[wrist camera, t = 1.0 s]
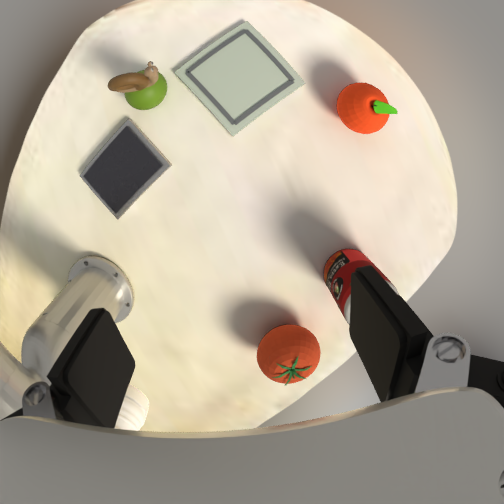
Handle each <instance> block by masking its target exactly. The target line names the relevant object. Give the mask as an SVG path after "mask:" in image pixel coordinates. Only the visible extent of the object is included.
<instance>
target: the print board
mask: <svg viewBox="0 0 504 504" xmlns="http://www.w3.org/2000/svg"><path fill="white" fill-rule="evenodd" d="M174 73H175V74H176V75H177V76H178V77H179V78H180V79H181V80H182V81H183V82H184V83H185V84H186V85H187V86H188V87H189V88H190V89H191V91H192V92H193V93H194V94H195V95H196V96H197V97H198V98H199V99H200V100H201V101H202V102H203V103H204V105H205V106H206V107H207V108H208V109H209V110H210V111H211V112H212V113H213V114H214V116H215V117H216V118H217V119H218V120H219V121H220V122H221V123H222V125H223V126H224V127H225V128H226V129H227V130H228V131H229V132H230V134H231V135H232V136H235V135H236V134H237V133H238V132H240V131H241V130H242V129H243V128H245V127H246V126H247V125H249V124H250V123H251V122H252V121H254V120H255V119H256V118H258V117H259V116H260V115H262V114H263V113H264V112H266V111H267V110H268V109H270V108H271V107H273V106H274V105H275V104H277V103H278V102H280V101H281V100H282V99H284V98H285V97H287V96H288V95H289V94H291V93H292V92H294V91H295V90H297V89H298V88H300V87H301V86H303V85H304V84H305V82H304V81H303V80H302V78H301V77H300V76H299V75H298V74H297V72H296V71H295V70H294V69H293V68H292V67H291V66H290V64H289V63H288V62H287V61H286V60H285V59H284V58H283V57H282V56H281V55H280V53H279V52H278V51H277V50H276V49H275V48H274V47H273V46H272V45H271V44H270V43H269V42H268V41H267V40H266V39H265V38H264V37H263V36H262V35H261V34H260V33H259V32H258V31H257V30H256V29H255V28H254V27H253V26H252V25H251V24H250V23H249V22H248V21H246V22H244V23H243V24H241V25H239V26H238V27H236V28H235V29H233V30H231V31H230V32H228V33H227V34H225V35H224V36H222V37H221V38H219V39H218V40H216V41H215V42H214V43H212V44H211V45H209V46H208V47H207V48H205V49H204V50H202V51H201V52H200V53H198V54H197V55H196V56H194V57H193V58H192V59H191V60H189V61H188V62H187V63H186V64H184V65H183V66H182V67H181V68H179V69H178V70H177V71H176V72H174Z"/></svg>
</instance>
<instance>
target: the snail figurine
mask: <svg viewBox="0 0 504 504" xmlns="http://www.w3.org/2000/svg"><path fill="white" fill-rule="evenodd" d="M108 88H109V89H110V90H111V91H117V92H122V93H125V98H126V100H127V102H128V103H129V104H130V105H131V106H132V107H134V108H136V109H139V110H148V109H151V108H154V107H156V106H157V105H159V104H160V103H161V102H162V100H163V99H164V97H165V95H166V92H167V83H166V80H165V78H164V77H163V75H162V74H160V73H159V72H158V69H157V67H156V66H153V62H151V61H150V62H148V67H147V68H146V69H145V70H142V71H139V72H137V73H126V74H122V75H119V76H116V77H114V78H112V79H111V80H110V81H109V83H108Z"/></svg>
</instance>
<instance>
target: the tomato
mask: <svg viewBox="0 0 504 504" xmlns="http://www.w3.org/2000/svg"><path fill="white" fill-rule="evenodd" d="M319 360H320V346H319V343H318V341H317V339H316V337H315V336H314V335H313V334H312V333H311V332H310V331H309V330H307V329H306V328H303V327H301V326H298V325H282V326H279V327H276V328H274V329H272V330H271V331H269V332H268V333H267V334H266V335H265V336H264V337H263V338H262V340H261V342H260V344H259V346H258V350H257V361H258V365H259V367H260V369H261V370H262V372H263V373H264V374H265V375H266V376H267V377H268V378H270V379H271V380H273V381H276V382H279V383H285V385H287V384H289V383H295V382H298V381H301V380H303V379H306V377H308V376H309V375H310V374H312V373H313V372H314V370H315V369H316V367H317V365H318V363H319Z"/></svg>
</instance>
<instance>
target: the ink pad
mask: <svg viewBox="0 0 504 504" xmlns="http://www.w3.org/2000/svg"><path fill="white" fill-rule="evenodd" d="M171 166H172V164H171V163H170V162H169V161H168V160H167V159H166V157H165V156H164V155H163V154H162V153H161V152H160V151H159V150H158V149H157V147H156V146H155V145H154V144H153V143H152V142H151V141H150V140H149V138H148V137H147V136H146V135H145V134H144V133H143V132H142V131H141V130H140V128H139V127H138V126H137V125H136V124H135V123H134V122H133V121H132V120H131V119H128V120H127V121H126V122H125V123H124V124H123V125H122V126H121V127H120V129H119V130H118V131H117V132H116V133H115V134H114V135H113V136H112V137H111V138H110V140H109V141H108V142H107V143H106V144H105V145H104V146H103V148H102V149H101V150H100V151H99V152H98V153H97V155H96V156H95V157H94V158H93V160H92V161H91V162H90V163H89V164H88V166H87V167H86V168H85V170H84V171H83V172H82V173H81V175H80V177H81V178H82V179H83V180H84V182H85V183H86V184H87V185H88V186H89V188H90V189H91V190H92V191H93V192H94V193H95V195H96V196H97V197H98V198H99V199H100V200H101V201H102V203H103V204H104V205H105V206H106V207H107V208H108V209H109V210H110V212H111V213H112V214H113V215H114V216H115V217H116V218H117V219H119V218H120V217H121V216H122V215H123V214H124V213H125V212H126V211H127V210H128V209H129V208H130V206H131V205H132V204H133V203H134V202H135V201H136V200H137V199H138V198H139V197H140V196H141V195H142V194H143V193H144V192H145V191H146V190H147V189H148V188H149V187H150V186H151V185H152V184H153V183H154V182H155V181H156V180H157V179H158V178H159V177H160V176H161V175H162V174H163V173H164V172H165V171H166V170H167V169H168V168H169V167H171Z"/></svg>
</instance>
